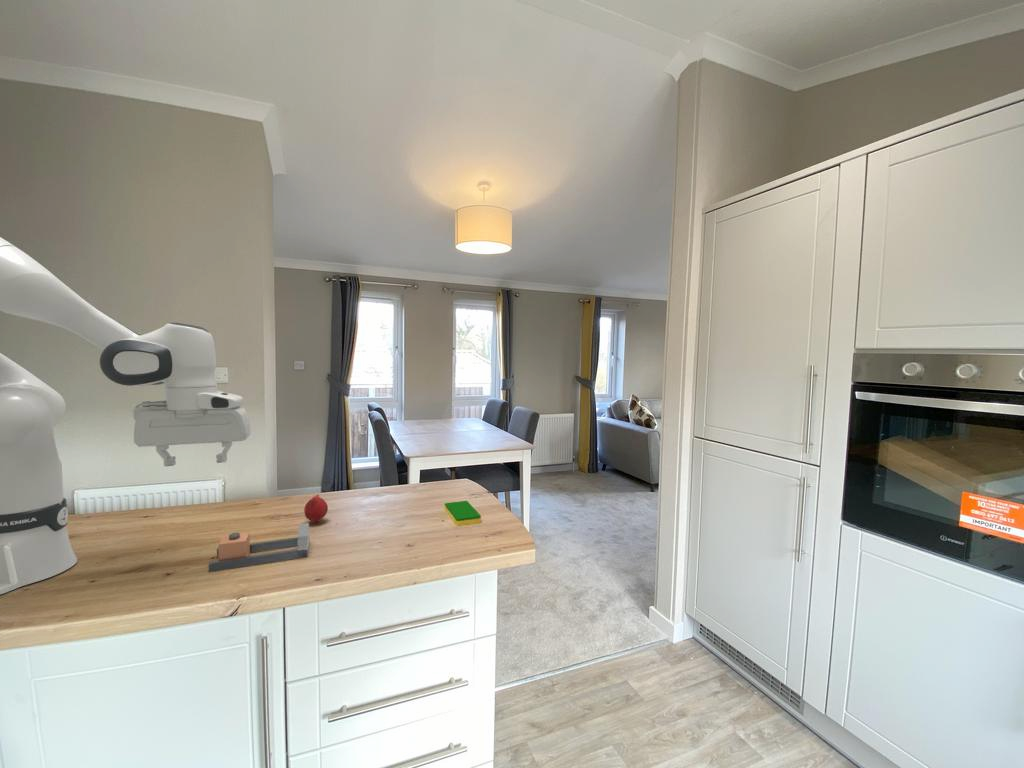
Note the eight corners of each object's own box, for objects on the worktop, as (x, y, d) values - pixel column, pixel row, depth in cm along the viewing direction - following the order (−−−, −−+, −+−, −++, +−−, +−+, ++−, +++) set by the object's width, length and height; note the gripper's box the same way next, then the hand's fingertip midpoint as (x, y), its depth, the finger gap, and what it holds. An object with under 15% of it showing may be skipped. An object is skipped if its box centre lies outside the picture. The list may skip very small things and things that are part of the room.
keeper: (218, 567, 91) (218, 540, 91) (224, 556, 96) (223, 531, 95) (245, 563, 93) (245, 537, 93) (249, 553, 97) (249, 528, 97)
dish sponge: (466, 507, 131) (466, 500, 131) (481, 524, 118) (481, 515, 118) (444, 510, 128) (444, 502, 128) (456, 527, 116) (456, 519, 115)
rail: (208, 572, 89) (208, 549, 89) (217, 555, 96) (217, 534, 96) (307, 556, 96) (307, 535, 96) (309, 542, 104) (308, 522, 103)
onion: (318, 527, 113) (318, 498, 112) (299, 525, 114) (299, 496, 113) (331, 519, 118) (331, 491, 118) (313, 517, 120) (313, 490, 119)
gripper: (124, 403, 84) (128, 471, 85) (242, 400, 90) (245, 463, 91) (140, 400, 90) (144, 464, 91) (250, 397, 96) (253, 456, 97)
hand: (196, 463), depth 91 cm, fingers open, 8 cm apart
